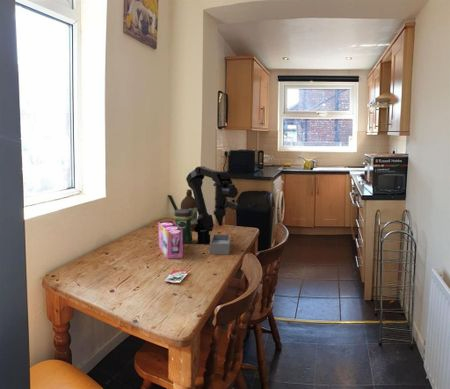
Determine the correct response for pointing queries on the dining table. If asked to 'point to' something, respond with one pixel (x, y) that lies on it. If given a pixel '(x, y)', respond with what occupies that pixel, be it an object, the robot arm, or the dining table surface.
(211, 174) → the robot arm
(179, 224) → the coffee jar
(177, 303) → the dining table surface
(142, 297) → the dining table surface
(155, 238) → the dining table surface
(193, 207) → the olive oil
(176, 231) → the gum box
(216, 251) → the tray
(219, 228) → the peg
